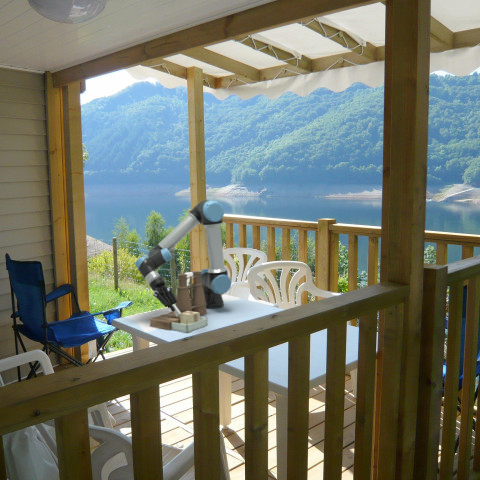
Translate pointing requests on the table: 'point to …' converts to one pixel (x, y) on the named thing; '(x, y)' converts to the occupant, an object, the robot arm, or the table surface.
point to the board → (164, 321)
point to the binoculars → (191, 294)
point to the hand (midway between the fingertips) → (179, 315)
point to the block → (189, 317)
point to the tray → (189, 325)
